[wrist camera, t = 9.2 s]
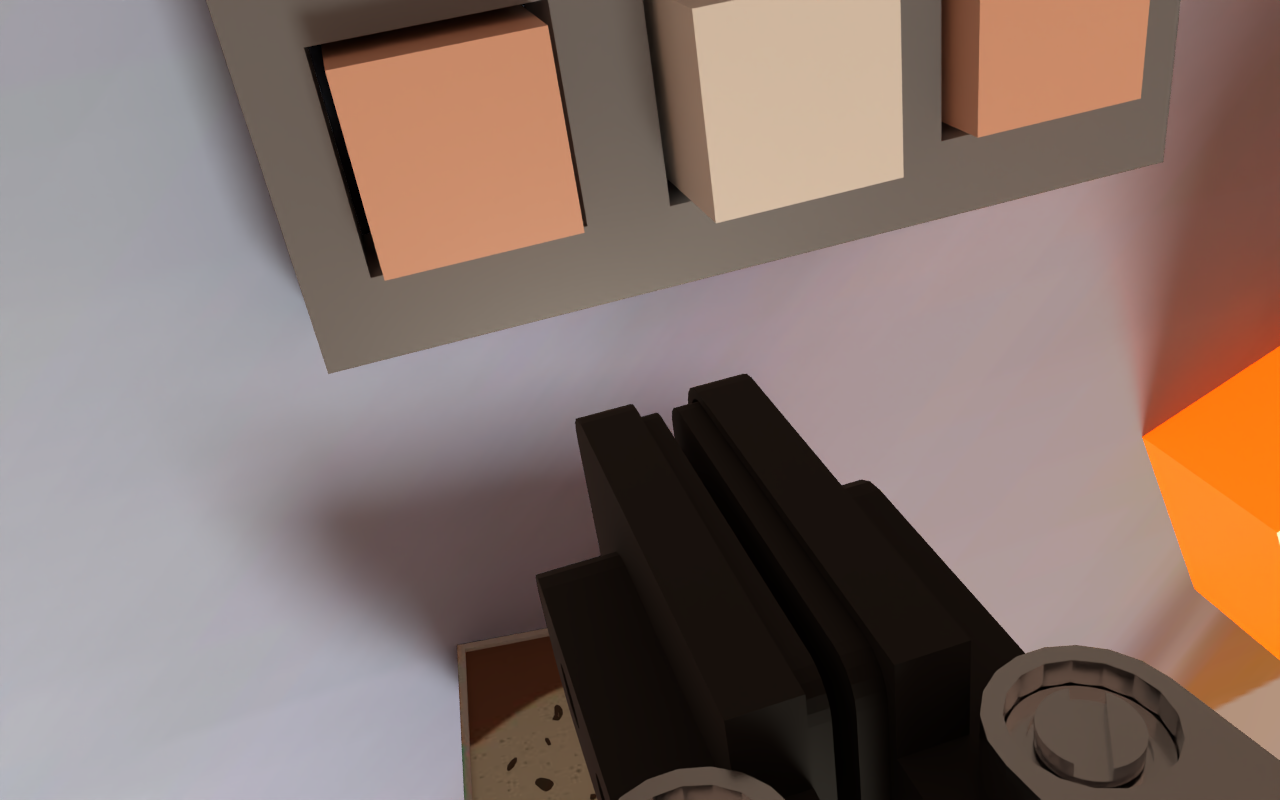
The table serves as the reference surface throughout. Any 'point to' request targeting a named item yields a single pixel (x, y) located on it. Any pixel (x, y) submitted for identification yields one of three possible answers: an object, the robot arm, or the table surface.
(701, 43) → the middle button
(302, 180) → the control panel
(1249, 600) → the orange juice
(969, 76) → the inner button
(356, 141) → the outer button
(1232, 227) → the table surface
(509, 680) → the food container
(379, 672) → the table surface
